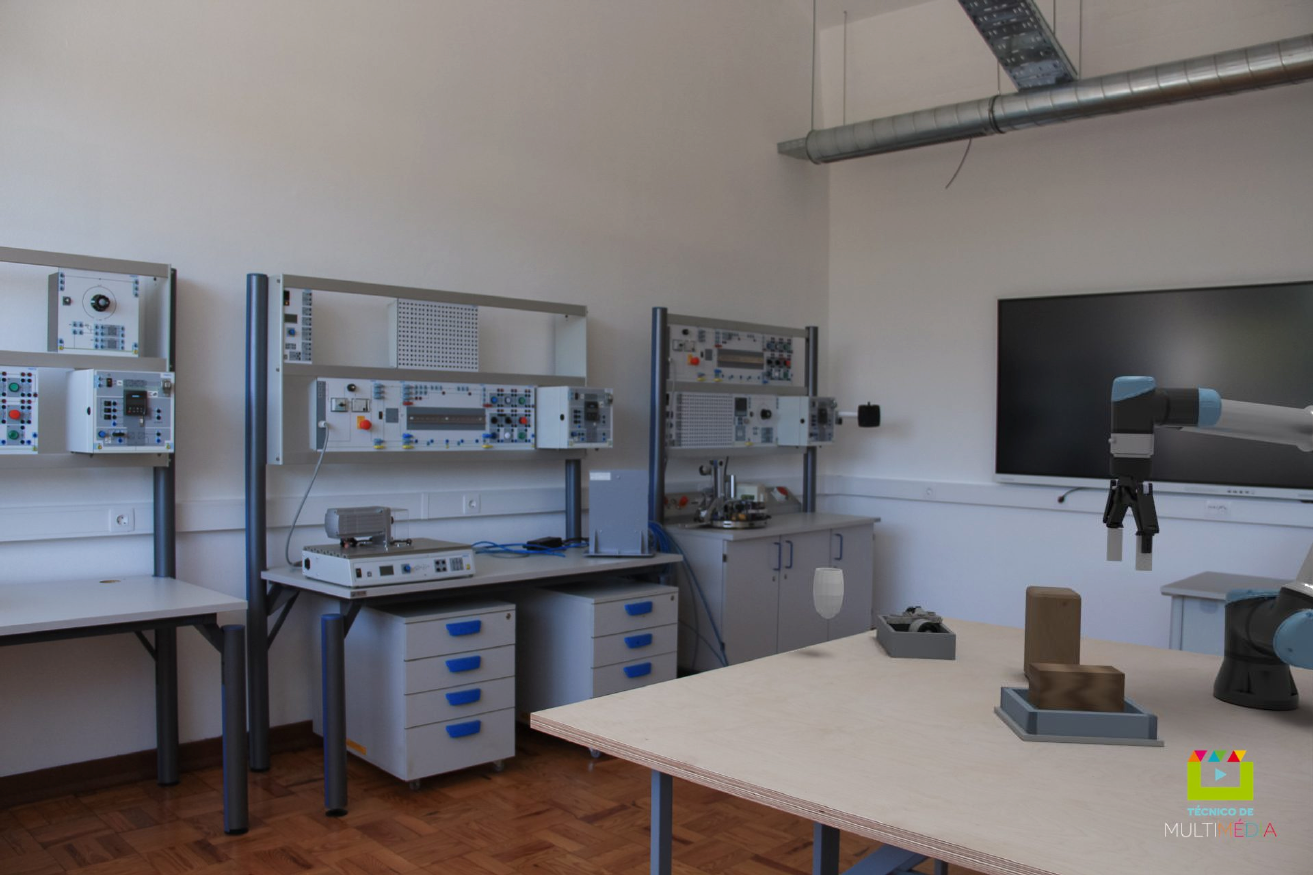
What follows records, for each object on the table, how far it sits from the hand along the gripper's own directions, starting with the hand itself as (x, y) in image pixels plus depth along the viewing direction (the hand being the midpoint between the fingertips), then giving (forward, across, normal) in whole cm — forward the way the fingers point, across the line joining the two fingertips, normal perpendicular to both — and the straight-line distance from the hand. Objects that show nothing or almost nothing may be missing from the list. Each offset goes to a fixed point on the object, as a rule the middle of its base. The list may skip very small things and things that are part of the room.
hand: (1128, 565), depth 191 cm
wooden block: (+29, -24, -6) cm, 38 cm away
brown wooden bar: (+25, +11, -14) cm, 30 cm away
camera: (+29, -52, -29) cm, 66 cm away
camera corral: (+29, -52, -30) cm, 67 cm away
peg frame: (+29, +12, -14) cm, 34 cm away
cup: (+29, -39, -53) cm, 72 cm away
